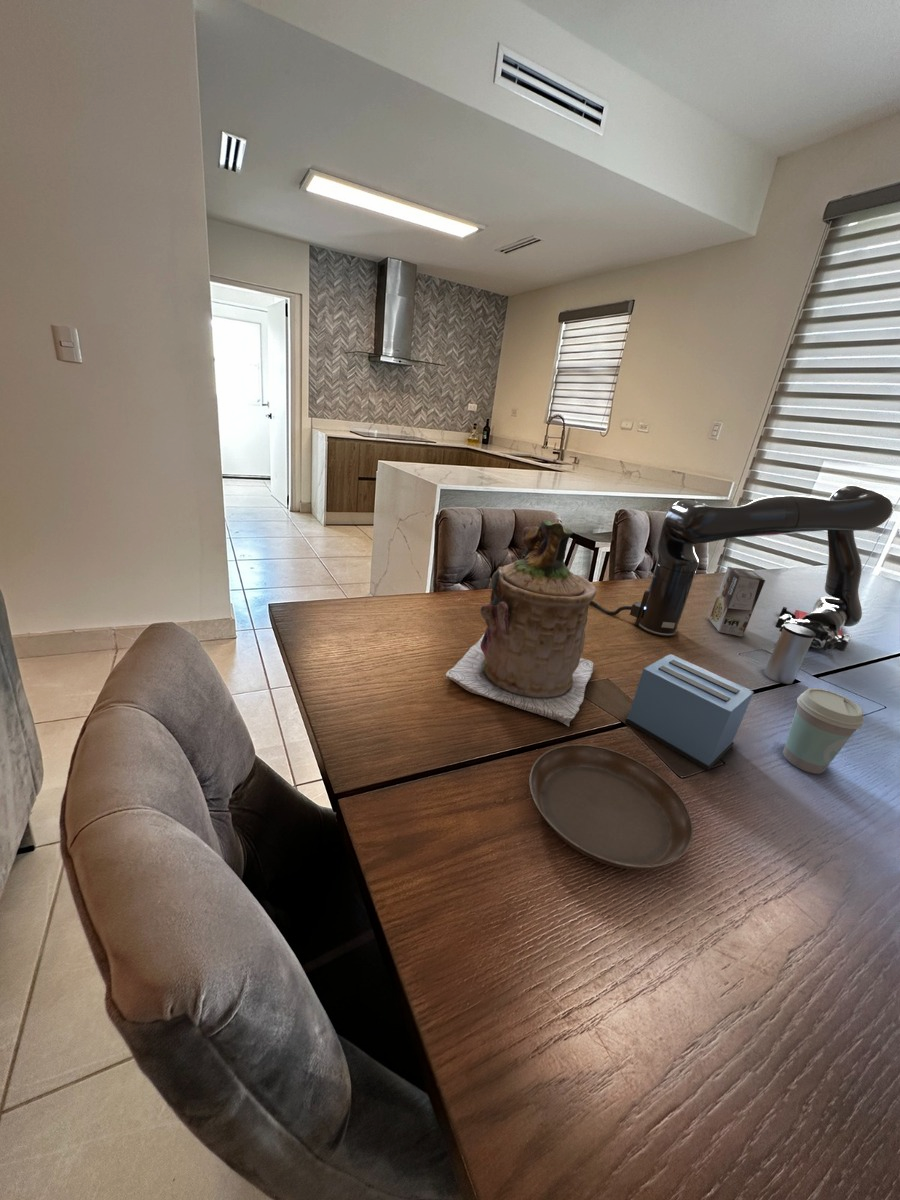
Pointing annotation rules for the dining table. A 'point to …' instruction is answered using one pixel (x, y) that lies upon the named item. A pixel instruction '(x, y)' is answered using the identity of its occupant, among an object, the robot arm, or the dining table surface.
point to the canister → (789, 653)
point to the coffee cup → (820, 729)
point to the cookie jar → (533, 632)
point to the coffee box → (736, 600)
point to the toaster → (688, 709)
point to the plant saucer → (610, 807)
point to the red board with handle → (800, 615)
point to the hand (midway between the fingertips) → (804, 638)
